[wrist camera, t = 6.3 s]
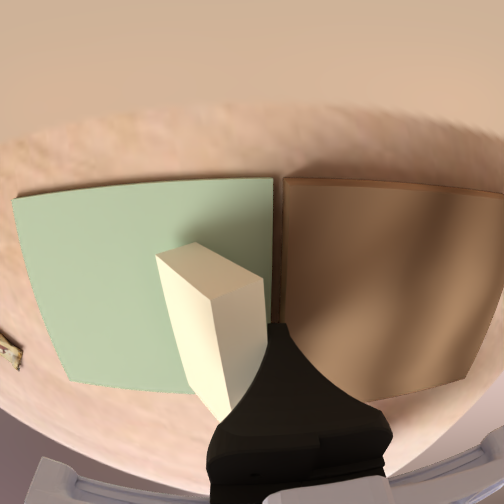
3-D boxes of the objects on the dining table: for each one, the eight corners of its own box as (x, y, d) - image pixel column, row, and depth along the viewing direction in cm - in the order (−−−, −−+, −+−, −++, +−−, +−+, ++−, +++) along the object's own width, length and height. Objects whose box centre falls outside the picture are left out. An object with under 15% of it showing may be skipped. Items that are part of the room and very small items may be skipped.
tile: (262, 278, 10) (210, 300, 9) (272, 422, 13) (238, 443, 12) (195, 241, 14) (155, 254, 13) (218, 370, 17) (188, 384, 16)
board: (502, 193, 14) (523, 202, 12) (453, 361, 19) (464, 378, 17) (283, 177, 13) (289, 185, 11) (275, 388, 18) (278, 412, 16)
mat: (272, 177, 13) (273, 178, 13) (267, 389, 18) (268, 393, 18) (15, 197, 13) (11, 199, 13) (71, 377, 18) (69, 380, 17)
